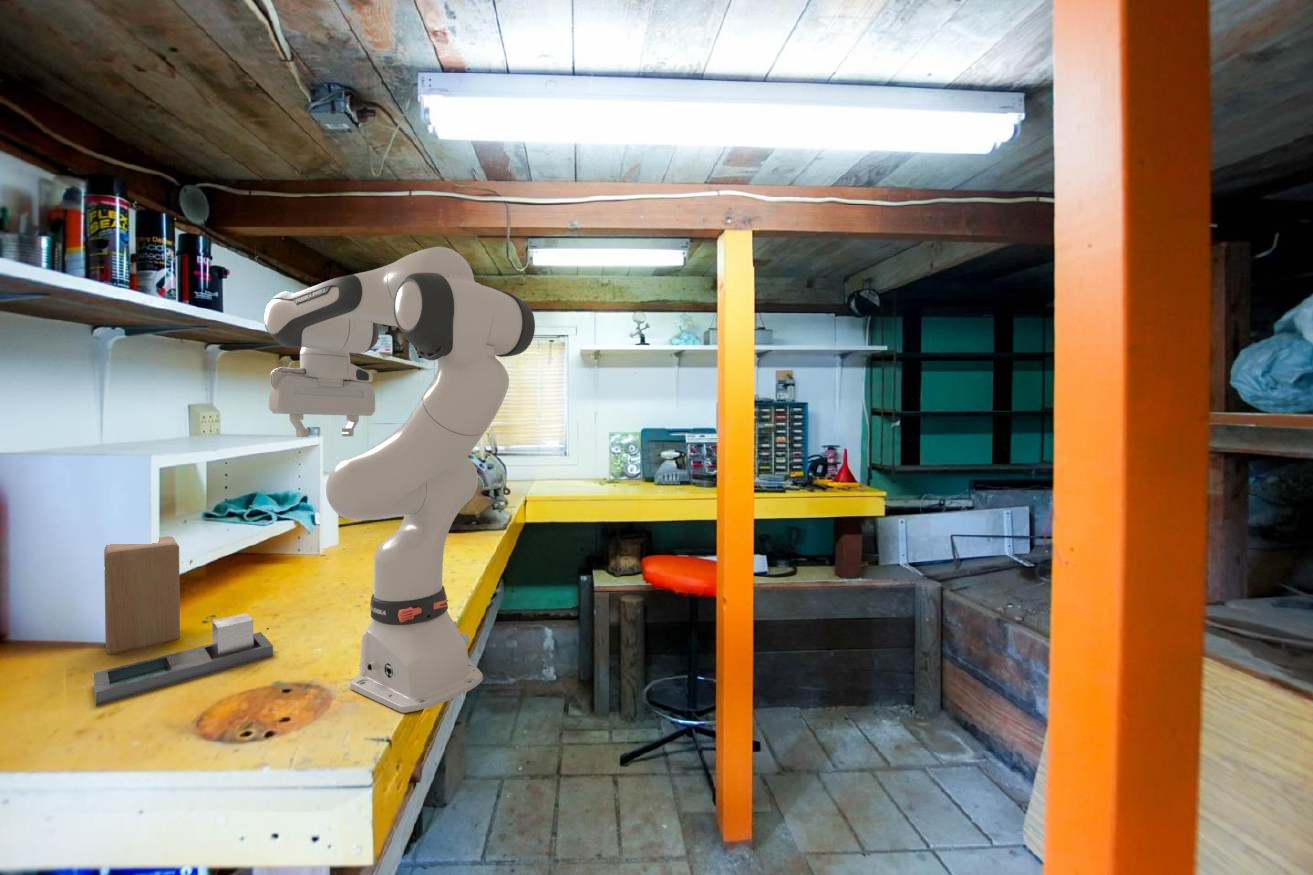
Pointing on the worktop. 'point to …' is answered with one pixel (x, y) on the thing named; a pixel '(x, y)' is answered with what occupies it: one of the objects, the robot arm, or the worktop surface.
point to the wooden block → (141, 594)
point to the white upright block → (232, 635)
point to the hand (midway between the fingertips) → (326, 436)
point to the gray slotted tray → (172, 670)
